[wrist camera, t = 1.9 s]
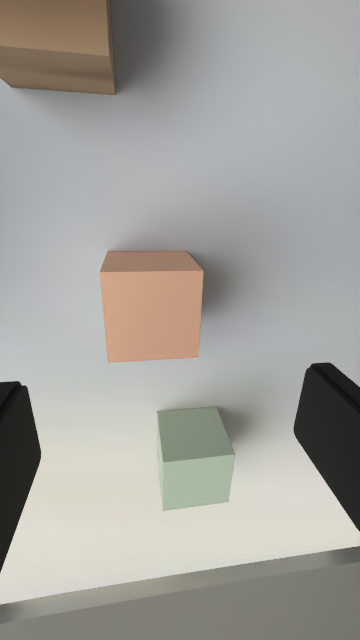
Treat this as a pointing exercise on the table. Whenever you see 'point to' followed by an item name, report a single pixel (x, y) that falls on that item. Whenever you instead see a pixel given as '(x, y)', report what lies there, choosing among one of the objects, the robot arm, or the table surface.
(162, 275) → the terracotta block
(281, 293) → the table surface
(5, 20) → the walnut block
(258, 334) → the table surface
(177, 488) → the sage block
